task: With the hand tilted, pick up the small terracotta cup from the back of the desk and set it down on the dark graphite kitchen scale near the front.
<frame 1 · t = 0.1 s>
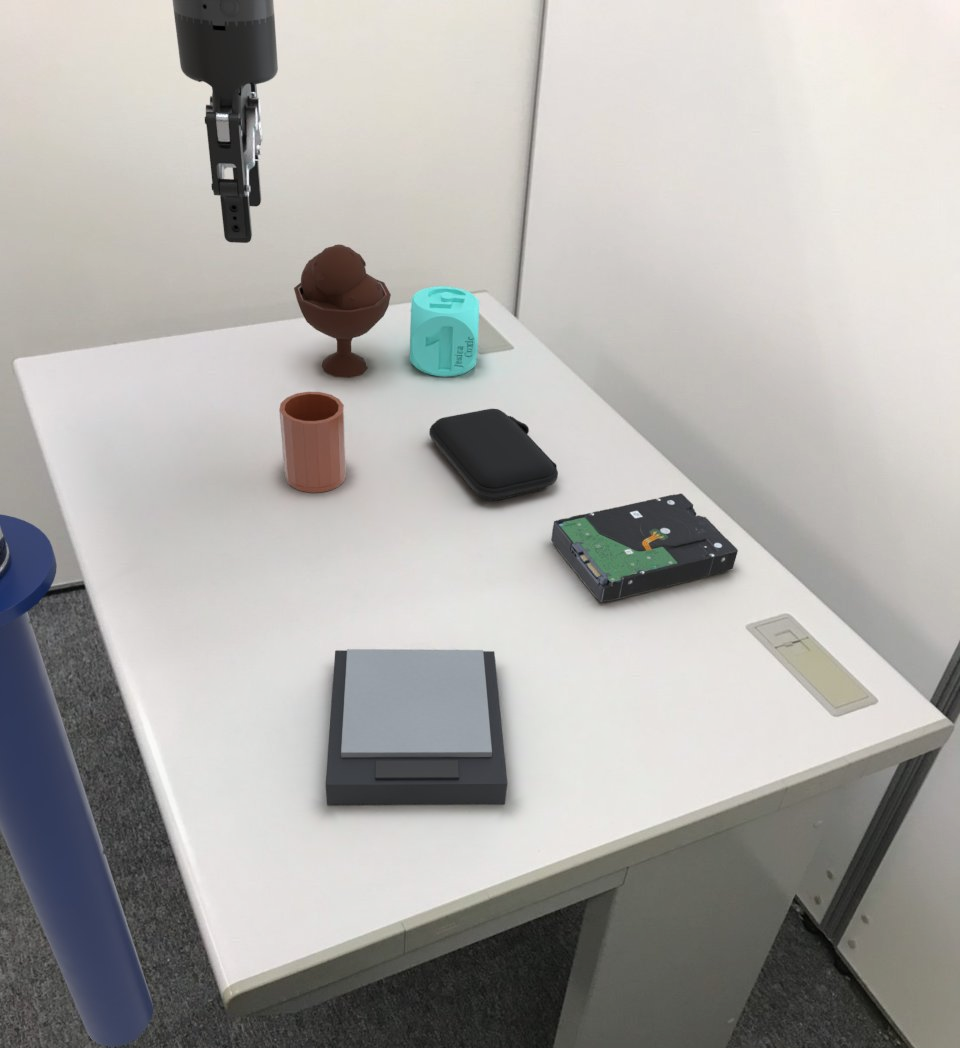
hand: (244, 222, 87), 25 cm above the table, tool pointing down, fingers open, 8 cm apart
decorative dice: (442, 363, 124), on the table
ice cream bowl: (344, 368, 122), on the table
disk drive: (640, 558, 97), on the table
carrying case: (495, 465, 108), on the table
scale: (415, 734, 78), on the table
cup: (315, 475, 104), on the table
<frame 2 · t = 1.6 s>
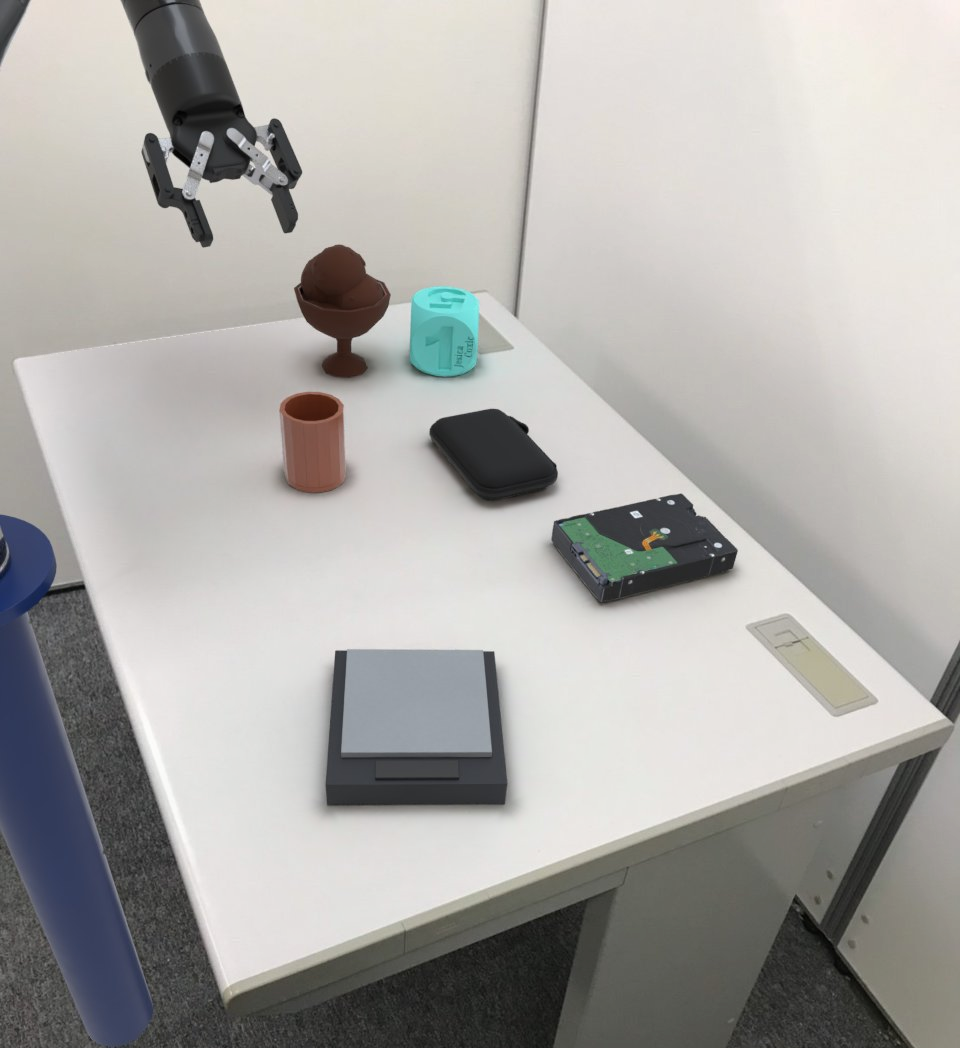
hand: (250, 236, 97), 21 cm above the table, tool tilted 45°, fingers open, 8 cm apart
nothing on the table moved.
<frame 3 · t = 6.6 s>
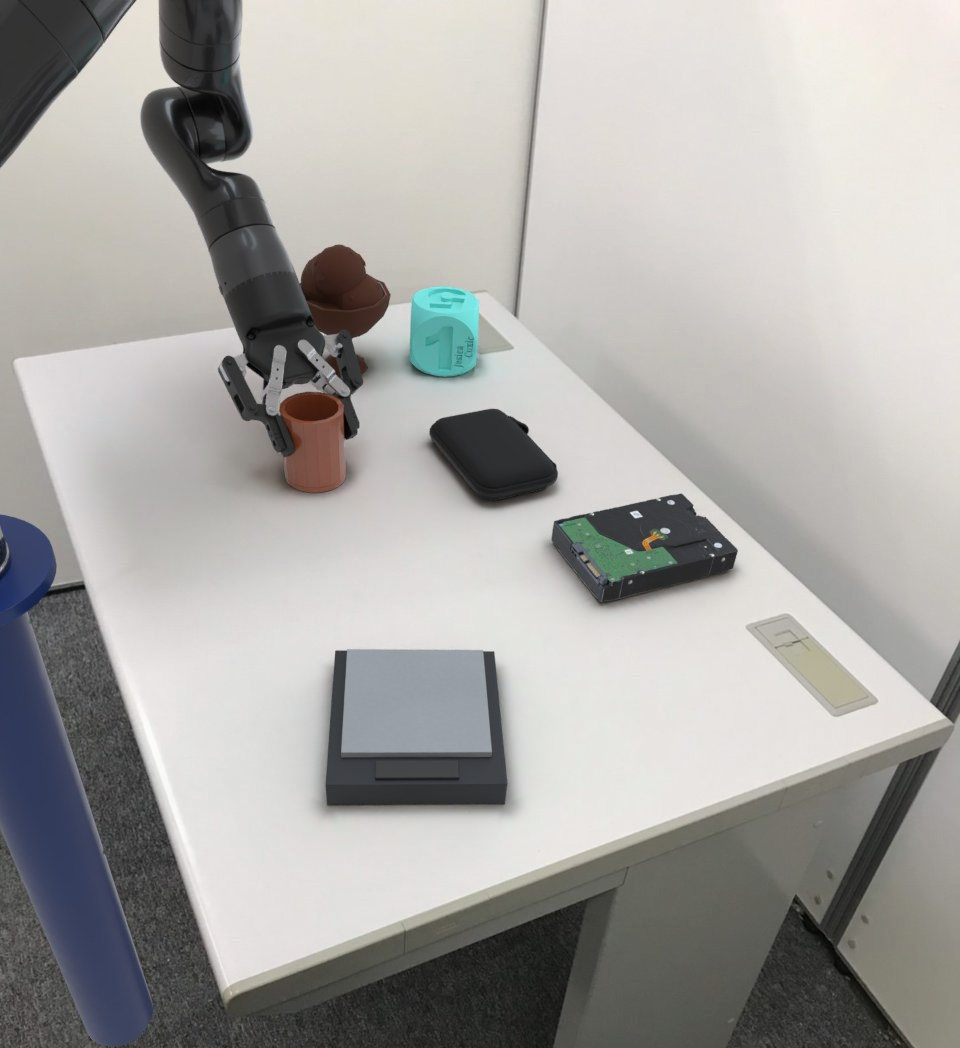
hand: (321, 445, 100), 5 cm above the table, tool tilted 45°, fingers closed on cup, 6 cm apart
cup: (315, 475, 104), on the table, touching gripper
everything else where it was.
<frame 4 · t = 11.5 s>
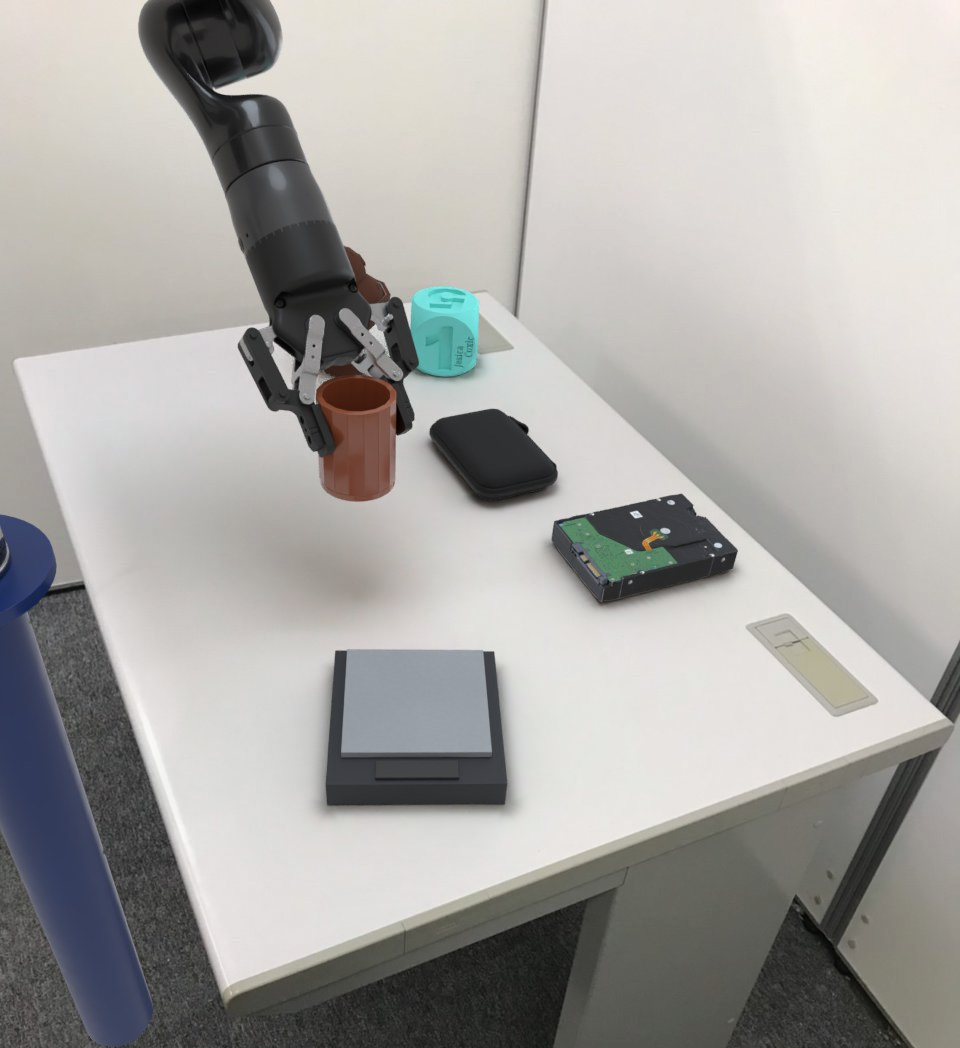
hand: (367, 442, 79), 16 cm above the table, tool tilted 45°, fingers closed on cup, 6 cm apart
cup: (357, 480, 83), point 12 cm above the table, touching gripper
everything else where it was.
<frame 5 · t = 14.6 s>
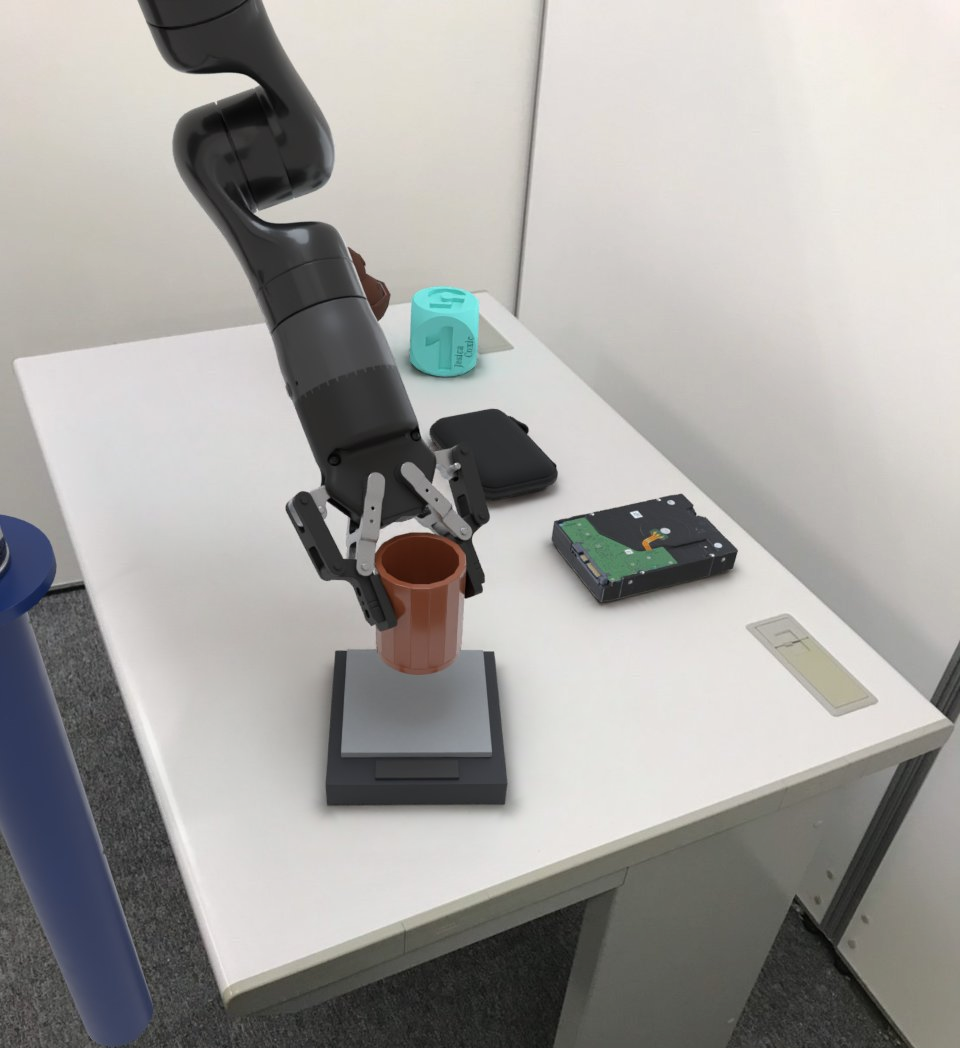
hand: (432, 611, 69), 13 cm above the table, tool tilted 45°, fingers closed on cup, 6 cm apart
cup: (418, 645, 73), point 9 cm above the table, touching gripper
everything else where it was.
when the fingers open (8 cm above the table, at t = 16.8 s): cup stays where it is, resting on scale.
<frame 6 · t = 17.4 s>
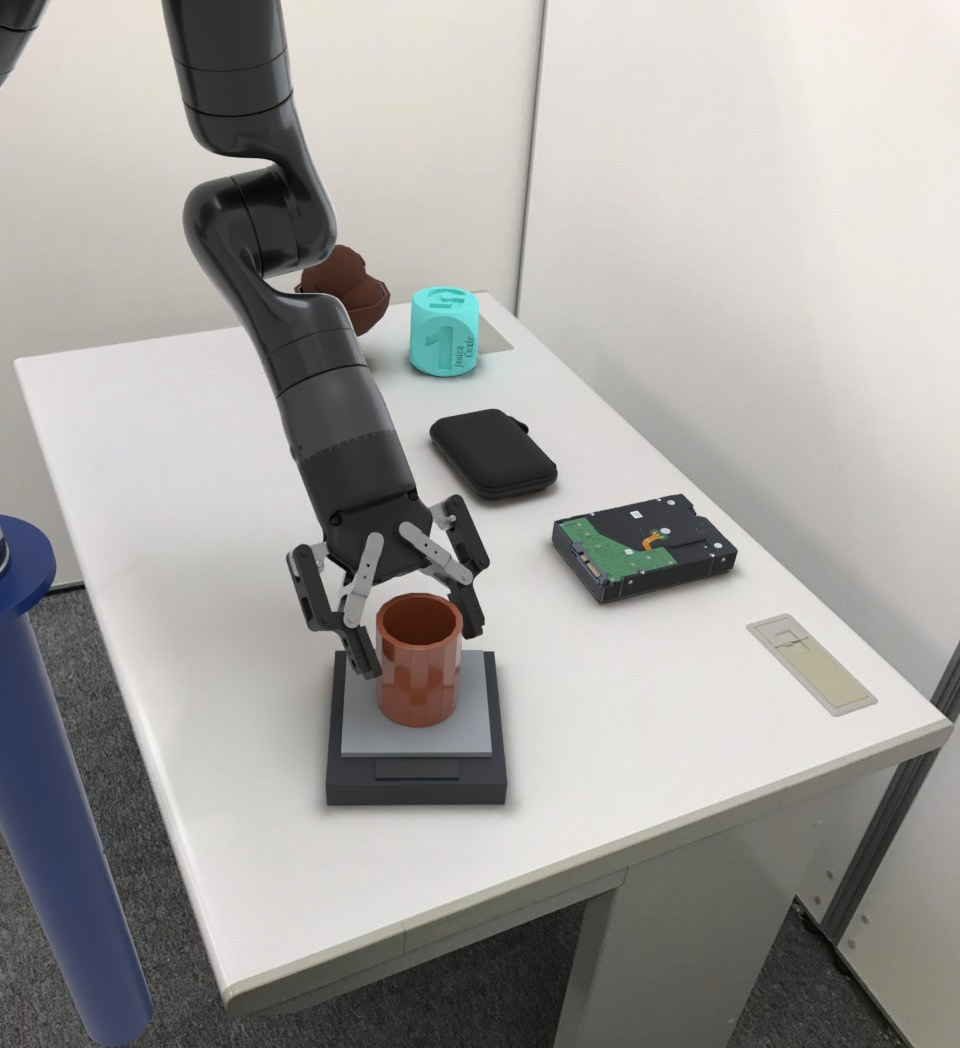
hand: (425, 656, 73), 8 cm above the table, tool tilted 45°, fingers open, 8 cm apart
cup: (417, 698, 77), point 3 cm above the table, touching scale
everything else where it was.
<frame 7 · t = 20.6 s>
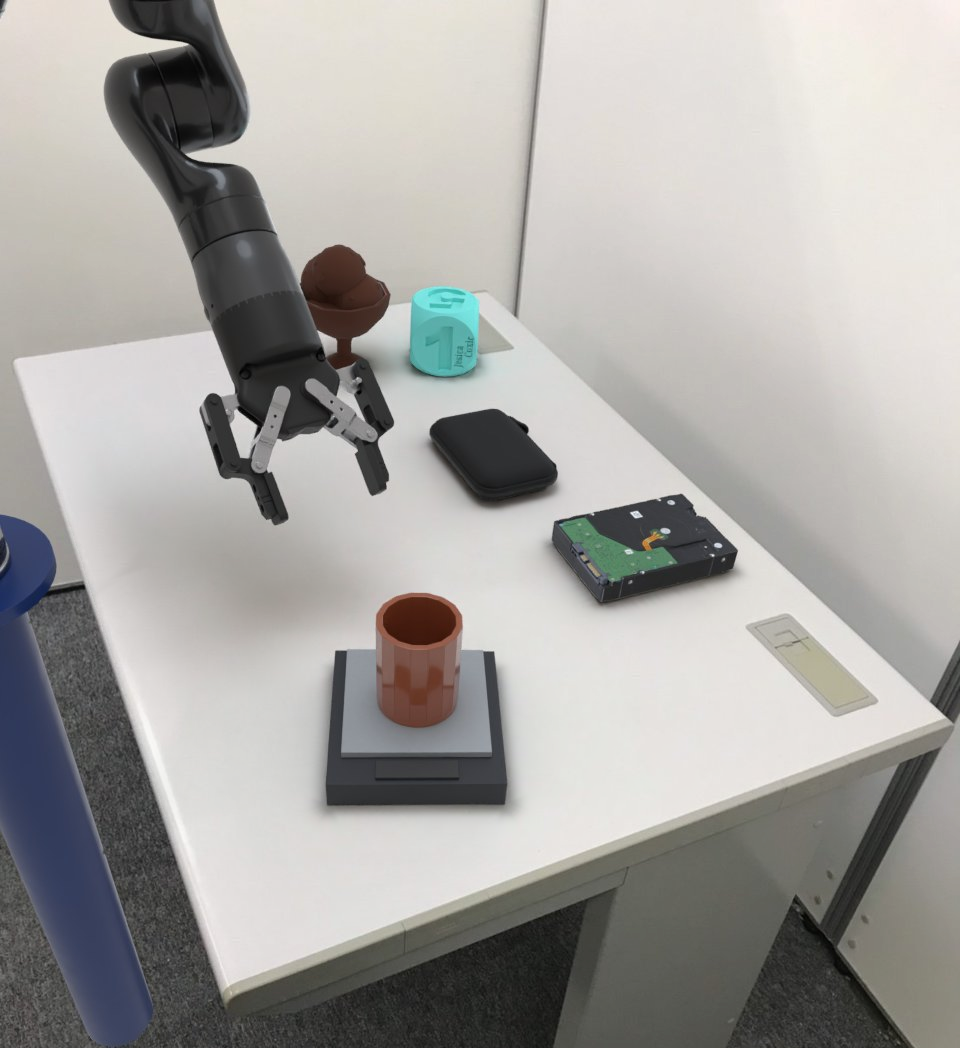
hand: (332, 507, 78), 13 cm above the table, tool tilted 45°, fingers open, 8 cm apart
nothing on the table moved.
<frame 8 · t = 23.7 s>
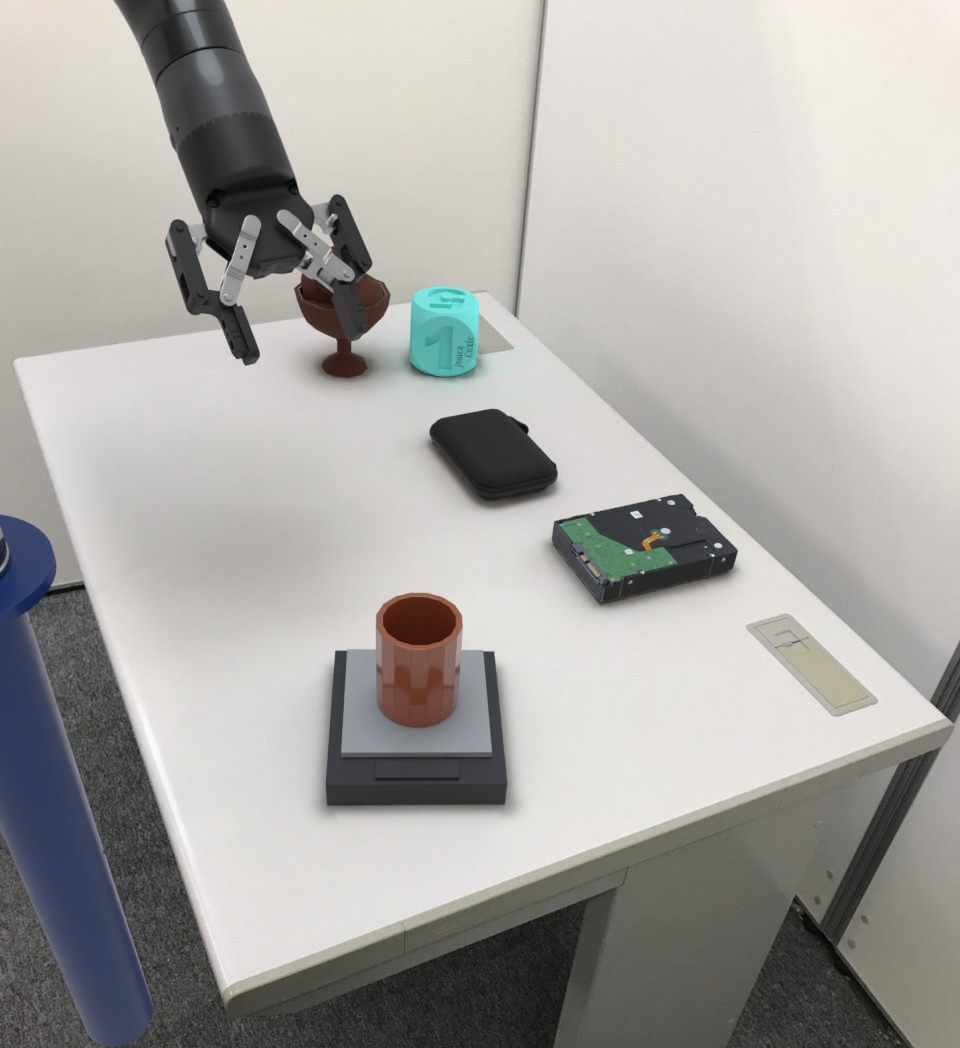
hand: (306, 349, 74), 24 cm above the table, tool tilted 45°, fingers open, 8 cm apart
nothing on the table moved.
at the end: cup inside the target area on the scale (0.1 cm from its centre), point 3.0 cm above the scale's base; cup tilted 0°; the gripper is holding nothing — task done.
